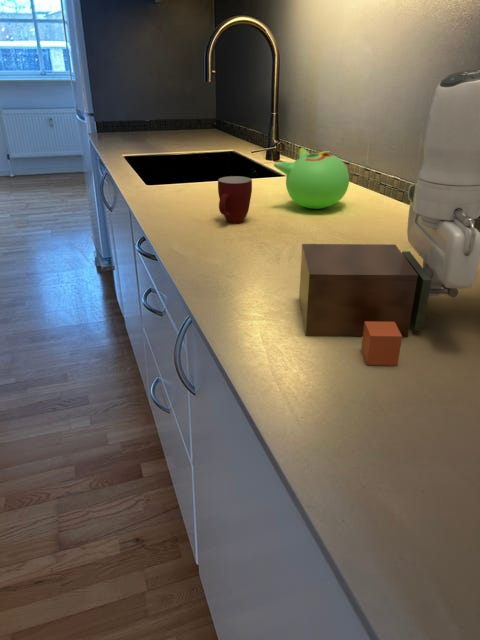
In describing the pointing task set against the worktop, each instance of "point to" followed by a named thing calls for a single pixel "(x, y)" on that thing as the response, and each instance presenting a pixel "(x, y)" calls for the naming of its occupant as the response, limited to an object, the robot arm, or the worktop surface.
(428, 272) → the robot arm
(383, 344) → the block
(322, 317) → the cabinet
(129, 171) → the worktop surface
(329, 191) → the toy bird
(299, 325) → the worktop surface
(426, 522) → the worktop surface
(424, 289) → the drawer
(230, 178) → the mug
